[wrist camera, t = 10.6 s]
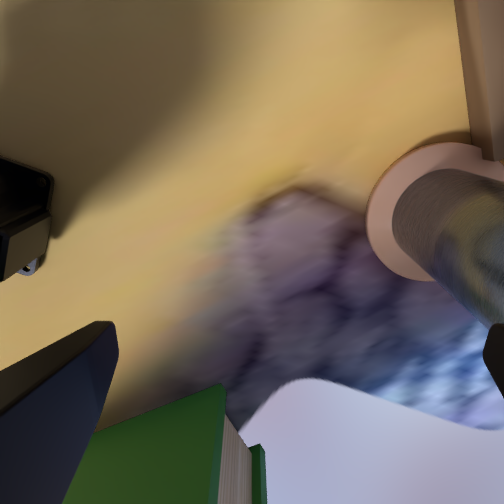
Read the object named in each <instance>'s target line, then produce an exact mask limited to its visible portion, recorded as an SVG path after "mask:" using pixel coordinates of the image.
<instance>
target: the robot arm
mask: <svg viewBox="0 0 504 504" xmlns="http://www.w3.org/2000/svg"><path fill="white" fill-rule="evenodd" d="M41 178H43V179H45V181H46V185H43V184H42V183H41ZM53 188H54V179H53V177H52V176H51V175H50V174H49V173H47V172H44V171H42V170H39V169H36V168H34V167H31V166H28V165H25V164H23V163H20V162H17V161H14V160H12V159H9V158H6V157H3V156H1V155H0V282H2V281H5V280H6V279H7V278H9V277H10V276H12V275H13V274H15V273H19V274H22V275H26V276H29V275H32V274H33V273H35V272H36V271H37V270H38V266H39V261H40V256H41V255H42V254H44V253H45V250H46V245H47V240H48V235H49V230H50V225H51V220H52V215H51V212H50V211H49V209H50V204H51V199H52V194H53ZM26 265H28V266H29V267H30V269H28V268H27V267H26ZM118 357H119V348H118V341H117V335H116V328H115V325H114V323H113V322H112V321H94V322H92V323H90V324H88V325H87V326H85V327H83V328H81V329H79V330H77V331H75V332H73V333H71V334H70V335H68V336H66V337H64V338H62V339H60V340H58V341H56V342H54V343H52V344H51V345H49V346H47V347H45V348H43V349H41V350H39V351H37V352H35V353H34V354H32V355H30V356H28V357H26V358H24V359H22V360H20V361H18V362H17V363H15V364H13V365H11V366H9V367H7V368H5V369H3V370H1V371H0V504H62V502H63V500H64V498H65V496H66V493H67V491H68V489H69V487H70V484H71V482H72V480H73V478H74V475H75V473H76V471H77V469H78V466H79V464H80V462H81V459H82V457H83V455H84V453H85V450H86V448H87V446H88V444H89V441H90V439H91V437H92V435H93V432H94V430H95V428H96V425H97V423H98V420H99V418H100V415H101V412H102V409H103V406H104V403H105V400H106V396H107V393H108V390H109V387H110V384H111V381H112V377H113V374H114V371H115V368H116V365H117V362H118ZM483 360H484V363H485V365H486V367H487V368H488V370H489V372H490V374H491V376H492V378H493V379H494V381H495V383H496V385H497V387H498V389H499V390H500V392H501V394H502V396H503V398H504V323H495V324H493V325H492V326H491V327H490V329H489V332H488V336H487V339H486V343H485V346H484V349H483Z"/></svg>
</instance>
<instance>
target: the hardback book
mask: <svg viewBox="0 0 504 504" xmlns="http://www.w3.org/2000/svg"><path fill="white" fill-rule="evenodd" d="M226 395H227V392H226V390H225V389H224V387H223V386H222V384H221V383H220V384H217V385H215V386H212V387H210V388H207V389H205V390H202V391H200V392H197V393H195V394H192V395H189V396H187V397H184V398H182V399H179V400H177V401H174V402H172V403H169V404H167V405H164V406H162V407H159V408H156V409H154V410H151V411H149V412H146V413H144V414H141V415H139V416H136V417H134V418H131V419H129V420H126V421H123V422H121V423H118V424H116V425H113V426H111V427H108V428H106V429H103V430H101V431H98V432H95V433H93V435H92V437H91V439H90V441H89V444H88V446H87V448H86V450H85V453H84V455H83V457H82V459H81V462H80V464H79V466H78V469H77V471H76V473H75V475H74V478H73V480H72V482H71V484H70V487H69V489H68V491H67V493H66V496H65V498H64V500H63V502H62V504H267V488H266V466H265V451H264V449H263V448H262V446H261V445H260V444H257V445H254V446H251V447H249V448H248V447H247V446H246V444H245V443H244V442H243V440H242V439H241V437H240V435H239V434H238V432H237V431H236V429H235V428H234V426H233V425H232V423H231V422H230V420H229V419H228V417H227V416H226V414H225V407H226Z"/></svg>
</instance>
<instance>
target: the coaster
mask: <svg viewBox="0 0 504 504" xmlns="http://www.w3.org/2000/svg"><path fill="white" fill-rule="evenodd" d="M446 168H453V169H460V170H464V171H467V172H471V173H474V174H478V175H481V176H485V177H489V178H492V179H496V180H499V181H503V182H504V166H503V165H502V163H501V162H500V161H499V160H498V161H495V162H493V161H488V160H483V159H482V151H481V148H479V147H476V146H473V145H468V144H463V143H456V142H439V143H433V144H428V145H425V146H422V147H419V148H417V149H415V150H413V151H411V152H408V153H407V154H405V155H404V156H402V157H401V158H399V159H398V160H397V161H395V162H394V163H393V164H392V165H391V166H390V167H389V168H388V169H387V170H386V171H385V172H384V173H383V174H382V176H381V177H380V178H379V180H378V181H377V183H376V185H375V186H374V188H373V190H372V192H371V194H370V197H369V200H368V203H367V207H366V212H365V230H366V235H367V239H368V241H369V244H370V246H371V248H372V250H373V251H374V253H375V254H376V255H377V256H378V258H379V259H380V260H381V261H382V262H383V263H384V265H386V266H387V267H388V268H389V269H390V270H392V271H393V272H395V273H396V274H398V275H400V276H403V277H405V278H408V279H412V280H417V281H435V280H434V279H433V278H432V277H431V276H430V275H429V274H427V273H426V272H425V271H424V270H423V269H422V268H421V267H420V266H419V265H418V264H417V263H415V262H414V261H413V260H412V259H411V258H410V257H409V256H408V255H407V254H406V253H405V252H404V251H402V249H401V248H400V247H399V246H398V244H397V243H396V241H395V239H394V236H393V232H392V215H393V211H394V208H395V205H396V203H397V201H398V199H399V198H400V196H401V195H402V193H403V192H404V190H405V189H406V188H407V187H408V186H409V185H410V184H411V183H413V182H414V181H415V180H417V179H418V178H420V177H421V176H423V175H425V174H427V173H429V172H432V171H435V170H439V169H446Z"/></svg>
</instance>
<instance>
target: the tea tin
mask: <svg viewBox="0 0 504 504" xmlns="http://www.w3.org/2000/svg"><path fill="white" fill-rule="evenodd" d="M392 232H393V236H394V239H395V241H396V243H397V244H398V246H399V247H400V248H401V249H402V251H404V252H405V253H406V254H407V255H408V256H409V257H410V258H411V259H412V260H413V261H414V262H415V263H417V264H418V265H419V266H420V267H421V268H422V269H423V270H424V271H425V272H426V273H427V274H429V275H430V276H431V277H432V278H433V279H434V280H435V281H436V282H437V283H438V284H439V285H441V286H442V287H443V288H444V289H445V290H446V291H447V292H448V293H449V294H450V295H451V296H453V297H454V298H455V299H456V300H457V301H458V302H459V303H460V304H461V305H462V306H463V307H464V308H466V309H467V310H468V311H469V312H470V313H471V314H472V315H473V316H474V317H475V318H476V319H478V320H479V321H480V322H481V323H482V324H483V325H484V326H485V327H486V328H487V329H488V330H489V329H490V327H491V326H492V325H493V324H495V323H504V182H503V181H499V180H496V179H492V178H489V177H485V176H481V175H478V174H474V173H471V172H467V171H464V170H460V169H453V168H446V169H439V170H435V171H432V172H429V173H427V174H425V175H423V176H421V177H420V178H418V179H417V180H415V181H414V182H413V183H411V184H410V185H409V186H408V187H407V188H406V189H405V190H404V192H403V193H402V195H401V196H400V198H399V199H398V201H397V203H396V205H395V208H394V211H393V215H392Z"/></svg>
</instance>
